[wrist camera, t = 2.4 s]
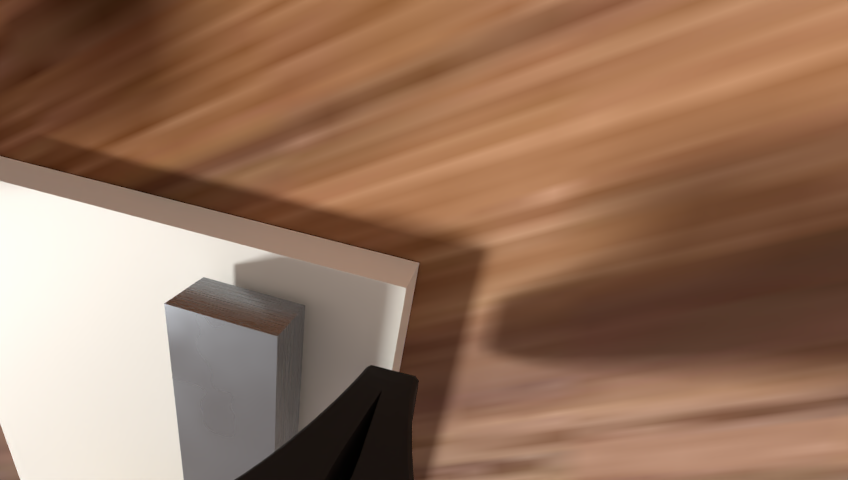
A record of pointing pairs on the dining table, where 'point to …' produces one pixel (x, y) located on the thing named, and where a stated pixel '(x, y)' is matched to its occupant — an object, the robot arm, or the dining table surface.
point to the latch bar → (233, 376)
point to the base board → (156, 316)
